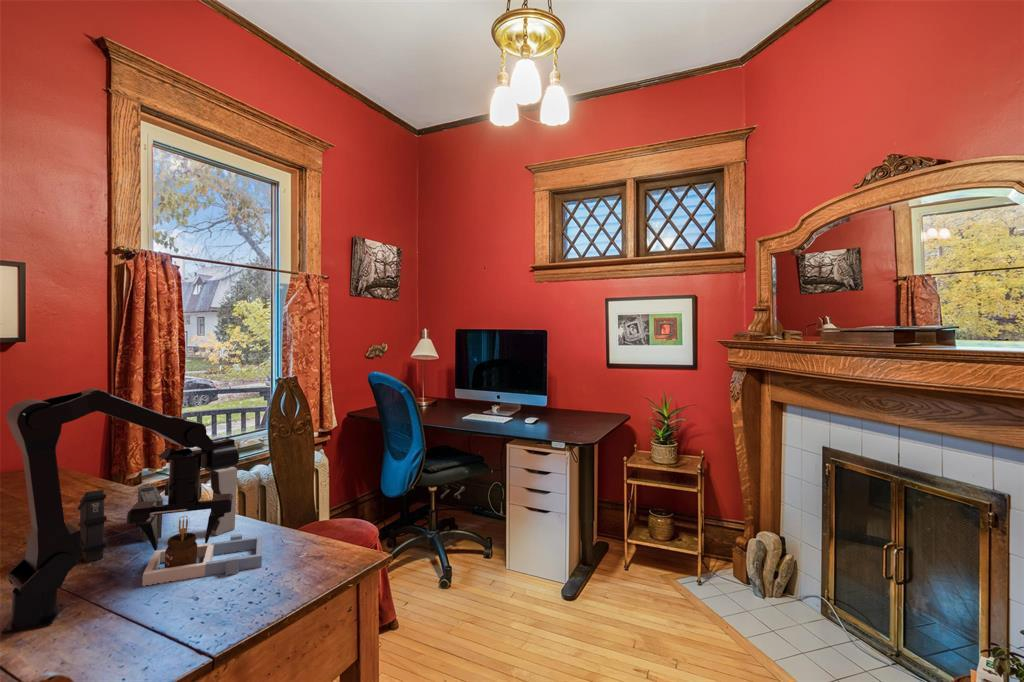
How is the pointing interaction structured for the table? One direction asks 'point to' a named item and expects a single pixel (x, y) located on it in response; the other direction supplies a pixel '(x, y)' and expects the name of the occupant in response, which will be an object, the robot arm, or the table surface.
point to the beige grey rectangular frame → (207, 561)
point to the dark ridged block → (92, 525)
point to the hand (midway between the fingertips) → (181, 546)
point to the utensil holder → (181, 548)
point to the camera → (151, 495)
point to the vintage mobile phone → (225, 484)
